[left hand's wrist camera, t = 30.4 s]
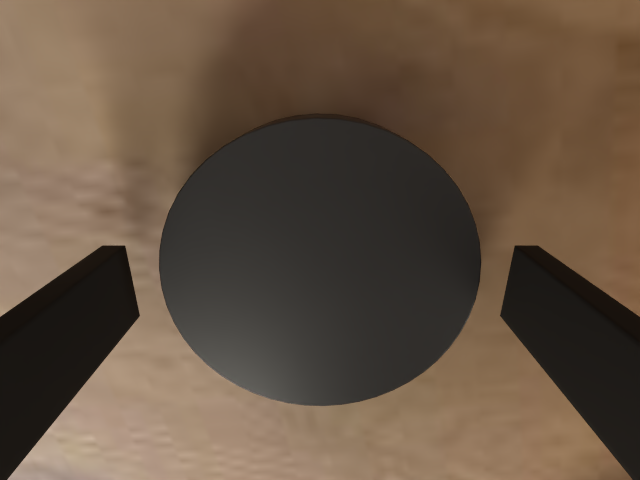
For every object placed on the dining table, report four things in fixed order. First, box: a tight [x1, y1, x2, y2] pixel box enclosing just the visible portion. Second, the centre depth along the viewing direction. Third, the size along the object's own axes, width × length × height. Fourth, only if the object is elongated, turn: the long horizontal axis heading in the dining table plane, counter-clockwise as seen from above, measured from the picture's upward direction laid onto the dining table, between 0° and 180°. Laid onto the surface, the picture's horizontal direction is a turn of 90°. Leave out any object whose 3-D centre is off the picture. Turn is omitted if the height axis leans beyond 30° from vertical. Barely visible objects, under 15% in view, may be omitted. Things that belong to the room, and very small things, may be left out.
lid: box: [159, 114, 481, 406], centre depth 13 cm, size 10×10×2 cm
